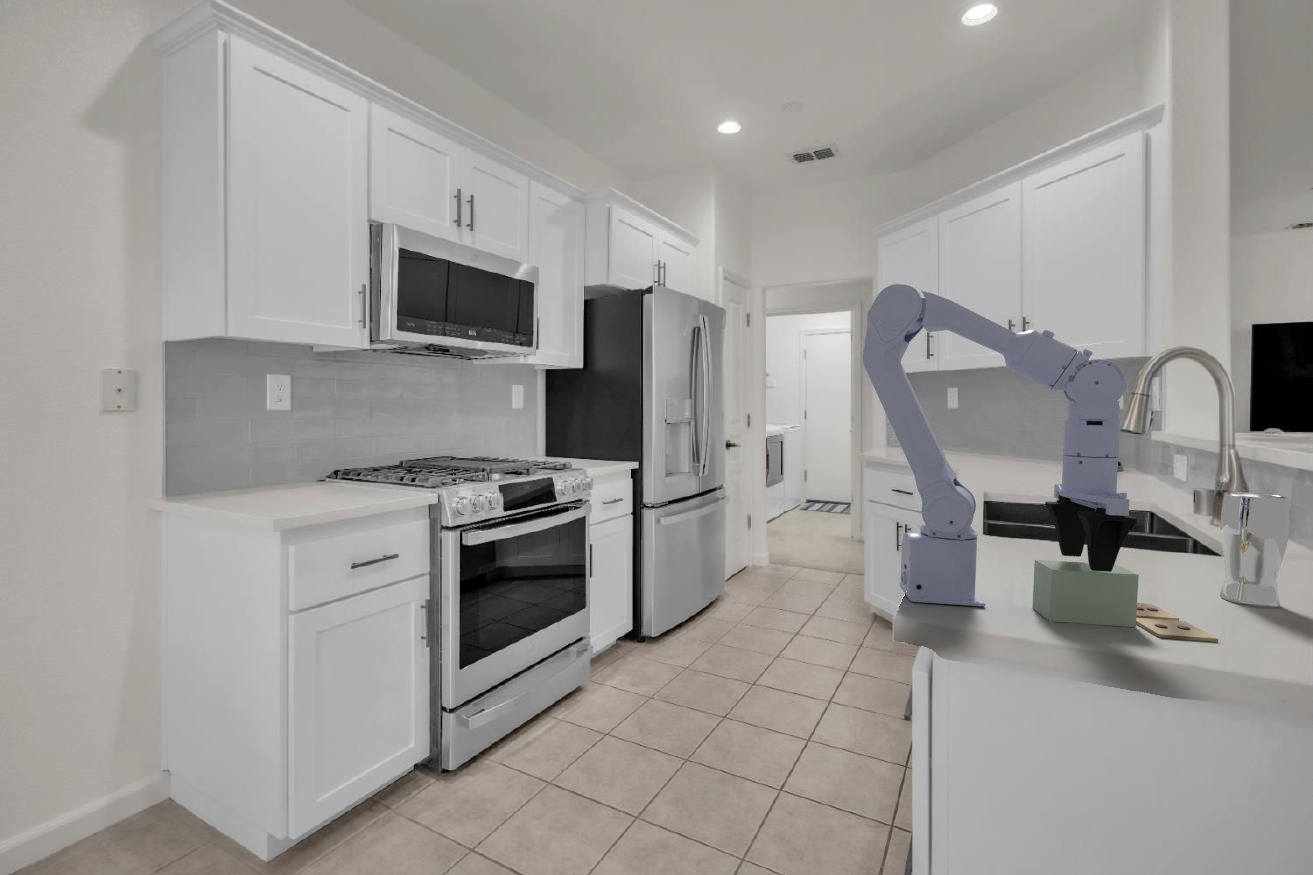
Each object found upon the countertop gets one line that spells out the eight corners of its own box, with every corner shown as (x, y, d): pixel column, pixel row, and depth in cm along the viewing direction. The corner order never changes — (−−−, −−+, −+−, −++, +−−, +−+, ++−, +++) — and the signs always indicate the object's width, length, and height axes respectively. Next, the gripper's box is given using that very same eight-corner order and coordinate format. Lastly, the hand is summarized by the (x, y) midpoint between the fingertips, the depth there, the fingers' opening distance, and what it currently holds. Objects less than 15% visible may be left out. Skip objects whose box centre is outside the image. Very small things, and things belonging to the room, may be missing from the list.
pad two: (1159, 637, 73) (1159, 633, 73) (1130, 620, 78) (1130, 616, 78) (1218, 641, 72) (1218, 637, 71) (1184, 624, 77) (1184, 620, 77)
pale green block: (1049, 621, 78) (1052, 569, 77) (1032, 607, 83) (1034, 559, 83) (1135, 627, 76) (1138, 574, 76) (1112, 613, 81) (1115, 564, 81)
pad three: (1125, 617, 79) (1125, 613, 79) (1101, 603, 85) (1101, 599, 85) (1178, 621, 78) (1179, 617, 78) (1150, 606, 84) (1150, 602, 84)
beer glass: (1298, 611, 83) (1306, 499, 83) (1238, 606, 85) (1244, 497, 84) (1259, 595, 90) (1266, 492, 89) (1204, 592, 91) (1210, 490, 91)
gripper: (1161, 461, 71) (1155, 580, 71) (1095, 452, 85) (1091, 551, 85) (1092, 460, 72) (1087, 576, 73) (1039, 451, 86) (1035, 548, 87)
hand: (1085, 562), depth 79 cm, fingers open, 7 cm apart
